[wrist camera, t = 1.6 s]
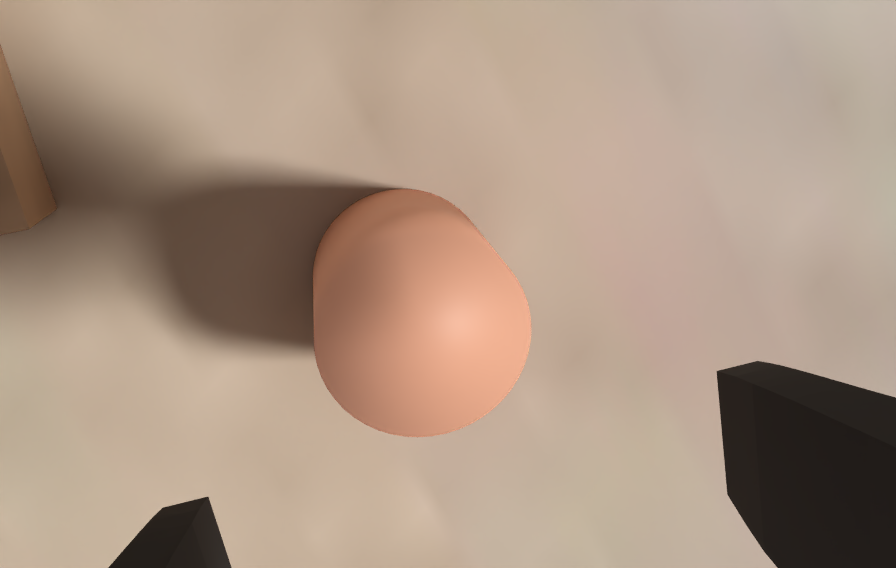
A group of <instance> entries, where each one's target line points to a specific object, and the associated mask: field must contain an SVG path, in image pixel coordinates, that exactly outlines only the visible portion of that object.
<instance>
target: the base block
mask: <svg viewBox="0 0 896 568" xmlns="http://www.w3.org/2000/svg"><path fill="white" fill-rule="evenodd" d="M56 209H57V207H56V204H55V201H54V198H53V195H52V193H51V190H50V187H49V184H48V181H47V178H46V175H45V172H44V169H43V167H42V164H41V161H40V158H39V155H38V152H37V149H36V146H35V143H34V140H33V138H32V135H31V132H30V129H29V126H28V123H27V120H26V117H25V114H24V112H23V109H22V106H21V103H20V100H19V97H18V94H17V91H16V88H15V86H14V83H13V80H12V77H11V74H10V71H9V68H8V65H7V62H6V60H5V57H4V54H3V51H2V48H1V45H0V235H3V234H8V233H13V232H17V231H22V230H27V229H30V228H31V227H33V226H34V225H36V224H37V223H38V222H40V221H41V220H42V219H44V218H45V217H46V216H48V215H49V214H51V213H52V212H53V211H55V210H56Z"/></svg>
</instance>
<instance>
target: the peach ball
mask: <svg viewBox="0 0 896 568" xmlns="http://www.w3.org/2000/svg"><path fill="white" fill-rule="evenodd" d="M313 315H314V351H315V356H316V362H317V366H318V369H319V372H320V375H321V377H322V379H323V381H324V383H325V385H326V387H327V389H328V390H329V392H330V393H331V395H332V396H333V397H334V399H335V400H336V401H337V402H338V403H339V404H340V405H341V406H342V408H343V409H344V410H346V411H347V412H348V413H349V414H351V415H352V416H353V417H354V418H356V419H357V420H359V421H361V422H362V423H364V424H366V425H368V426H370V427H372V428H374V429H377V430H379V431H383V432H386V433H389V434H394V435H399V436H407V437H426V436H435V435H440V434H445V433H449V432H452V431H455V430H458V429H461V428H463V427H465V426H467V425H470V424H472V423H473V422H475V421H477V420H478V419H480V418H482V417H483V416H485V415H486V414H487V413H488V412H490V411H491V410H492V409H494V408H495V407H496V406H497V405H498V404H499V403H500V402H501V401H502V400H503V399H504V398H505V396H506V395H507V394H508V393H509V392H510V390H511V389H512V388H513V386H514V384H515V383H516V381H517V380H518V378H519V376H520V374H521V372H522V370H523V367H524V365H525V362H526V359H527V356H528V353H529V347H530V341H531V318H530V311H529V307H528V303H527V299H526V297H525V294H524V292H523V289H522V287H521V285H520V283H519V282H518V280H517V278H516V276H515V275H514V274H513V273H512V271H511V270H510V269H509V267H508V266H507V265H506V264H505V262H504V261H503V260H502V259H501V257H500V256H499V255H498V254H497V253H496V251H495V250H494V249H493V248H492V246H491V245H490V244H489V243H488V242H487V240H486V239H485V238H484V237H483V235H482V234H481V233H480V232H479V230H478V229H477V228H476V227H475V226H474V224H473V223H472V222H471V221H470V219H469V218H468V217H467V216H466V215H465V214H464V213H463V212H462V211H461V210H460V209H458V208H457V207H456V206H454V205H453V204H452V203H450V202H449V201H447V200H445V199H443V198H441V197H439V196H436V195H434V194H431V193H428V192H424V191H420V190H412V189H393V190H387V191H382V192H378V193H375V194H372V195H369V196H367V197H365V198H362V199H360V200H359V201H357V202H355V203H354V204H352V205H350V206H349V207H348V208H347V209H345V210H344V211H343V212H342V213H341V214H340V215H339V216H338V217H337V218H336V219H335V220H334V221H333V222H332V224H331V225H330V226H329V228H328V229H327V230H326V232H325V234H324V236H323V237H322V239H321V241H320V244H319V246H318V249H317V252H316V256H315V260H314V268H313Z"/></svg>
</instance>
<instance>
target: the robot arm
mask: <svg viewBox="0 0 896 568" xmlns="http://www.w3.org/2000/svg"><path fill="white" fill-rule="evenodd" d="M717 380H718V391H719V403H720V414H721V426H722V437H723V449H724V460H725V471H726V483H727V494H728V496H729V498H730V499H731V501H732V503H733V504H734V506H735V507H736V509H737V511H738V512H739V514H740V515H741V517H742V519H743V520H744V522H745V523H746V525H747V527H748V528H749V530H750V531H751V533H752V534H753V536H754V537H755V538H756V540H757V541H758V543H759V544H760V546H761V547H762V549H763V550H764V552H765V553H766V554H767V555H768V557H769V558H770V559H771V560H772V561H773V563H774V564H775V565H776V566H777V567H778V568H896V398H895V397H891V396H888V395H884V394H881V393H877V392H874V391H870V390H866V389H863V388H859V387H856V386H853V385H849V384H846V383H842V382H839V381H835V380H832V379H828V378H825V377H821V376H818V375H814V374H811V373H807V372H804V371H800V370H796V369H792V368H789V367H785V366H780V365H776V364H771V363H766V362H760V361H756V362H752V363H748V364H744V365H740V366H736V367H732V368H728V369H724V370H719V371H717ZM109 568H231V565H230V562H229V559H228V556H227V553H226V550H225V547H224V544H223V540H222V537H221V534H220V531H219V528H218V525H217V522H216V519H215V516H214V513H213V510H212V507H211V504H210V501H209V498H208V497H205V498H201V499H197V500H193V501H189V502H184V503H180V504H176V505H172V506H168V507H164V508H162V509H161V510H160V511H159V512H158V513H157V514H156V515H155V516H154V517H153V518H152V519H151V520H150V521H149V522H148V523H147V524H146V525H145V527H144V528H143V529H142V530H141V531H140V532H139V533H138V534H137V536H136V537H135V538H134V539H133V540H132V541H131V542H130V544H129V545H128V546H127V547H126V548H125V549H124V550H123V552H122V553H121V554H120V555H119V556H118V557H117V559H116V560H115V561H114V562H113V563H112V564H111V565H110V566H109Z"/></svg>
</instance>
